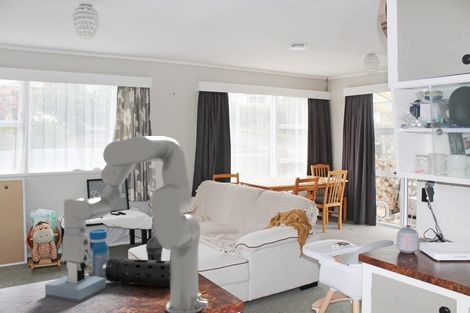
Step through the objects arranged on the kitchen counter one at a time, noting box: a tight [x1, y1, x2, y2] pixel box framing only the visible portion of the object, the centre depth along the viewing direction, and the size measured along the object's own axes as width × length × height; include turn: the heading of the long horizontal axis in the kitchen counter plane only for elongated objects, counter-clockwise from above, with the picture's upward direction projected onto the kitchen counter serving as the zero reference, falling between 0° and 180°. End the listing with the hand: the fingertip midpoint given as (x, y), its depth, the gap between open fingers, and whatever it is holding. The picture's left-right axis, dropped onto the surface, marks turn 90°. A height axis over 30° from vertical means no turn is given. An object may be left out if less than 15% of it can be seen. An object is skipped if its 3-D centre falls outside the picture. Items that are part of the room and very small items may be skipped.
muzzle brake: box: [102, 257, 170, 288], centre depth 163 cm, size 10×28×10 cm, turn 78°
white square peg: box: [67, 261, 84, 284], centre depth 154 cm, size 4×4×11 cm
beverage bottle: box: [87, 229, 110, 277], centre depth 170 cm, size 8×8×20 cm
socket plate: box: [44, 274, 107, 304], centre depth 155 cm, size 16×14×4 cm
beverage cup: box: [145, 230, 164, 261], centre depth 177 cm, size 7×7×20 cm
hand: (76, 278), depth 154 cm, fingers closed on white square peg, 3 cm apart
